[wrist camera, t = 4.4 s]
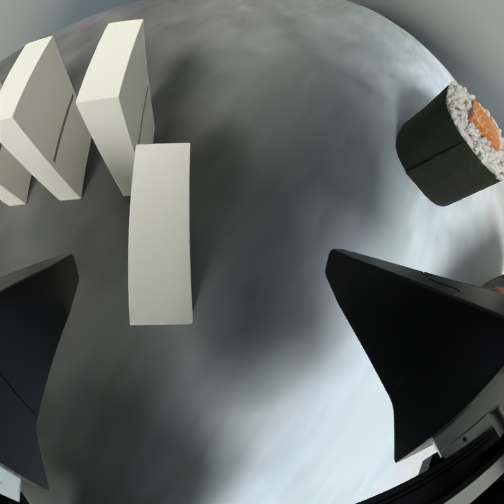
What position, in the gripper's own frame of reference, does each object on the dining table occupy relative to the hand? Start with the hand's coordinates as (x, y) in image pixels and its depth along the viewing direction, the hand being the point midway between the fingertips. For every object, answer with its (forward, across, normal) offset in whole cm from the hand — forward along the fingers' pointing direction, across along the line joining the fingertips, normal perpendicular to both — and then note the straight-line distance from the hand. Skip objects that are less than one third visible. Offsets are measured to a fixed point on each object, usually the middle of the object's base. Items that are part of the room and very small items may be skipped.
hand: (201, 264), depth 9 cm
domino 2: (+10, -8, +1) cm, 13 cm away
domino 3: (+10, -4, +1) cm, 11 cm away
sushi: (+12, +20, +2) cm, 24 cm away
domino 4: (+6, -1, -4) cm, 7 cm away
